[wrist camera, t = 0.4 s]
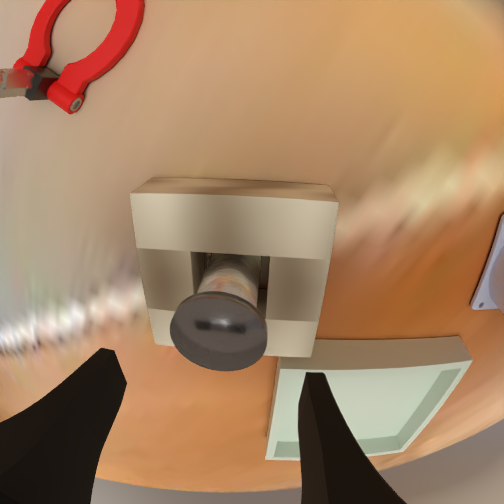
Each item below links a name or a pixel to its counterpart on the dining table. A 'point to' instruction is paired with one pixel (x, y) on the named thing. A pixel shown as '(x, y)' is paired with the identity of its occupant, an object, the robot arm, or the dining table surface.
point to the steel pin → (223, 316)
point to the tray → (369, 389)
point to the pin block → (237, 248)
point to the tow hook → (74, 74)
